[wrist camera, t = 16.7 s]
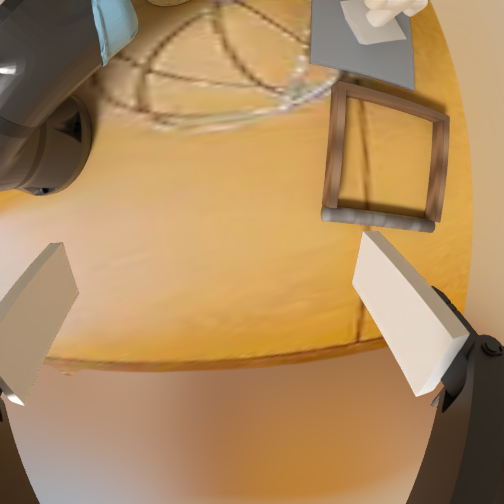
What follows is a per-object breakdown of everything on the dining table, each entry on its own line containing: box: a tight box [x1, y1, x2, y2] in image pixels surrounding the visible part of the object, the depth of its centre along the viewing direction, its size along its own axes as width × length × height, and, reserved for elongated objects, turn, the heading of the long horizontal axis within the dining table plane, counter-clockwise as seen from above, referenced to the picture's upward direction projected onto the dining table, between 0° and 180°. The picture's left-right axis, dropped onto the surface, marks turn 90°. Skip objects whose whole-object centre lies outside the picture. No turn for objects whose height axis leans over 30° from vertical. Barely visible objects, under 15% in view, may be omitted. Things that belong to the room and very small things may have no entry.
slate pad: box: [310, 0, 415, 91], centre depth 29 cm, size 16×16×1 cm
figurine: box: [340, 0, 428, 45], centre depth 22 cm, size 7×9×15 cm
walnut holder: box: [321, 81, 450, 233], centre depth 34 cm, size 18×18×3 cm
